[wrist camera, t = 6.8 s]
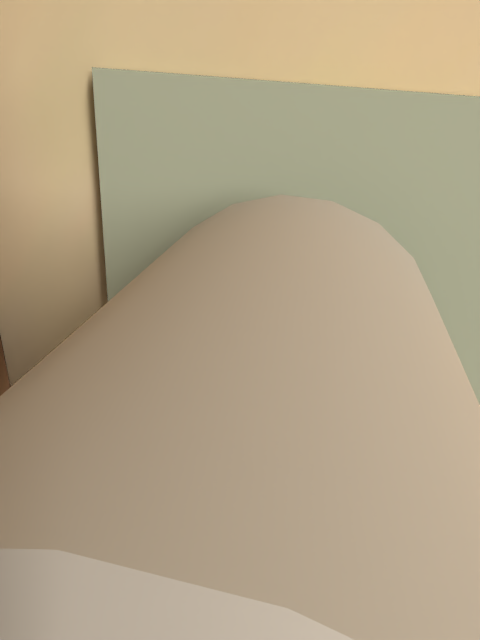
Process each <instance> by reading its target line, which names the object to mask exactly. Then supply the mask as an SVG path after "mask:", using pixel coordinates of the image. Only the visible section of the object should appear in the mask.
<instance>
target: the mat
mask: <svg viewBox="0 0 480 640" xmlns="http://www.w3.org/2000/svg"><path fill="white" fill-rule="evenodd" d="M92 77H93V91H94V106H95V121H96V135H97V150H98V165H99V179H100V194H101V208H102V223H103V238H104V252H105V267H106V281H107V296H108V301H109V300H111V299H112V298H113V297H114V296H115V295H116V294H117V293H119V292H120V291H121V290H122V289H123V288H124V287H125V286H126V285H128V284H129V283H130V282H131V281H132V280H133V279H134V278H136V277H137V276H138V275H139V274H140V273H141V272H142V271H144V270H145V269H146V268H147V267H148V266H149V265H150V264H152V263H153V262H154V261H155V260H156V259H157V258H158V257H160V256H161V255H162V254H163V253H164V252H165V251H166V250H168V249H169V248H170V247H171V246H172V245H173V244H174V243H176V242H177V241H178V240H179V239H180V238H181V237H182V236H184V235H185V234H186V233H187V232H188V231H189V230H190V229H191V228H193V227H194V226H196V225H198V224H199V223H201V222H203V221H204V220H206V219H208V218H210V217H211V216H213V215H215V214H216V213H218V212H220V211H222V210H223V209H225V208H227V207H228V206H230V205H232V204H235V203H240V202H246V201H251V200H256V199H261V198H266V197H271V196H276V195H289V196H297V197H305V198H312V199H320V200H328V201H333V202H335V203H337V204H339V205H342V206H344V207H346V208H348V209H350V210H352V211H354V212H356V213H358V214H360V215H362V216H365V217H367V218H369V219H371V220H373V221H375V222H377V223H379V224H380V225H381V226H382V227H383V228H384V229H385V230H386V231H387V232H388V233H389V234H390V235H391V236H392V237H393V238H394V239H395V240H396V241H397V242H398V243H399V244H400V245H401V246H402V247H403V248H404V249H405V250H406V251H407V252H408V253H409V254H410V255H411V256H412V257H413V258H414V259H415V261H416V264H417V266H418V268H419V270H420V272H421V274H422V276H423V279H424V281H425V283H426V285H427V287H428V289H429V291H430V294H431V296H432V298H433V300H434V302H435V304H436V307H437V309H438V311H439V314H440V316H441V318H442V320H443V323H444V325H445V327H446V330H447V332H448V334H449V336H450V339H451V341H452V343H453V345H454V348H455V350H456V352H457V355H458V357H459V359H460V361H461V364H462V366H463V368H464V371H465V373H466V375H467V377H468V380H469V382H470V384H471V386H472V389H473V391H474V393H475V396H476V398H477V400H478V402H479V405H480V97H478V96H465V95H452V94H438V93H425V92H412V91H399V90H386V89H372V88H359V87H346V86H333V85H320V84H306V83H293V82H280V81H267V80H254V79H240V78H227V77H214V76H201V75H188V74H174V73H161V72H148V71H135V70H121V69H108V68H95V67H92Z"/></svg>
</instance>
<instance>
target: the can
mask: <svg viewBox="0 0 480 640" xmlns="http://www.w3.org/2000/svg"><path fill="white" fill-rule="evenodd" d="M0 640H480V405H479V402H478V400H477V398H476V396H475V393H474V391H473V389H472V386H471V384H470V382H469V380H468V377H467V375H466V373H465V371H464V368H463V366H462V364H461V361H460V359H459V357H458V355H457V352H456V350H455V348H454V345H453V343H452V341H451V339H450V336H449V334H448V332H447V330H446V327H445V325H444V323H443V320H442V318H441V316H440V314H439V311H438V309H437V307H436V304H435V302H434V300H433V298H432V296H431V294H430V291H429V289H428V287H427V285H426V283H425V281H424V279H423V276H422V274H421V272H420V270H419V268H418V266H417V264H416V261H415V259H414V258H413V257H412V256H411V255H410V254H409V253H408V252H407V251H406V250H405V249H404V248H403V247H402V246H401V245H400V244H399V243H398V242H397V241H396V240H395V239H394V238H393V237H392V236H391V235H390V234H389V233H388V232H387V231H386V230H385V229H384V228H383V227H382V226H381V225H380V224H379V223H377V222H375V221H373V220H371V219H369V218H367V217H365V216H362V215H360V214H358V213H356V212H354V211H352V210H350V209H348V208H346V207H344V206H342V205H339V204H337V203H335V202H333V201H328V200H320V199H312V198H305V197H297V196H289V195H276V196H271V197H266V198H261V199H256V200H251V201H246V202H240V203H235V204H232V205H230V206H228V207H227V208H225V209H223V210H222V211H220V212H218V213H216V214H215V215H213V216H211V217H210V218H208V219H206V220H204V221H203V222H201V223H199V224H198V225H196V226H194V227H193V228H191V229H190V230H189V231H188V232H187V233H186V234H185V235H184V236H182V237H181V238H180V239H179V240H178V241H177V242H176V243H174V244H173V245H172V246H171V247H170V248H169V249H168V250H166V251H165V252H164V253H163V254H162V255H161V256H160V257H158V258H157V259H156V260H155V261H154V262H153V263H152V264H150V265H149V266H148V267H147V268H146V269H145V270H144V271H142V272H141V273H140V274H139V275H138V276H137V277H136V278H134V279H133V280H132V281H131V282H130V283H129V284H128V285H126V286H125V287H124V288H123V289H122V290H121V291H120V292H119V293H117V294H116V295H115V296H114V297H113V298H112V299H111V300H109V301H108V302H107V303H106V304H105V305H104V306H103V307H101V308H100V309H99V310H98V311H97V312H96V313H95V314H93V315H92V316H91V317H90V318H89V319H88V320H87V321H85V322H84V323H83V324H82V325H81V326H80V327H79V328H77V329H76V330H75V331H74V332H73V333H72V334H71V335H69V336H68V337H67V338H66V339H65V340H64V341H63V342H61V343H60V344H59V345H58V346H57V347H56V348H55V349H54V350H52V351H51V352H50V353H49V354H48V355H47V356H46V357H44V358H43V359H42V360H41V361H40V362H39V363H38V364H36V365H35V366H34V367H33V368H32V369H31V370H30V371H28V372H27V373H26V374H25V375H24V376H23V377H22V378H20V379H19V380H18V381H17V382H16V383H15V384H14V385H12V386H11V387H10V388H9V389H8V390H7V391H6V392H4V393H3V394H2V395H1V396H0Z"/></svg>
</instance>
